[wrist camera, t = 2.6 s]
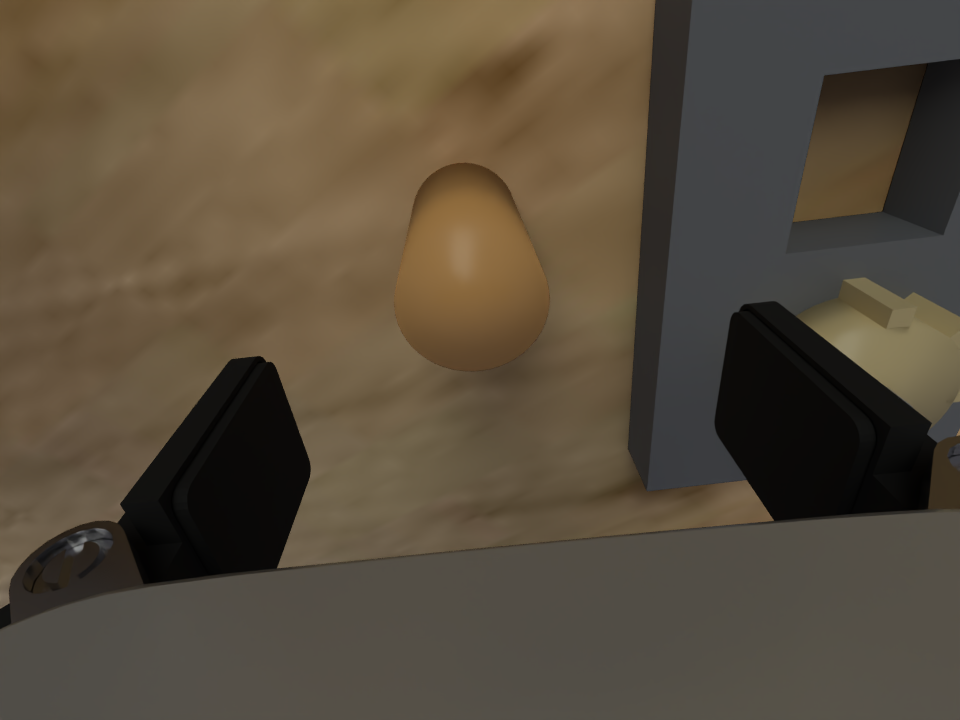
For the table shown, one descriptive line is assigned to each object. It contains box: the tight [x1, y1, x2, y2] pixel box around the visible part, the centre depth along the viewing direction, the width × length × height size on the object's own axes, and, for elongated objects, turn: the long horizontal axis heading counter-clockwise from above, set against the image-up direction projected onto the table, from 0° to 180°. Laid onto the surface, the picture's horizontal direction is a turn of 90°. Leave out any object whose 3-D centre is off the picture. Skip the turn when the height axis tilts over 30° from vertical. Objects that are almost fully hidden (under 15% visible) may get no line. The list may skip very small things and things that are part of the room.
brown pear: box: [394, 163, 550, 371], centre depth 17 cm, size 4×4×8 cm
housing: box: [628, 0, 960, 491], centre depth 19 cm, size 20×14×6 cm
